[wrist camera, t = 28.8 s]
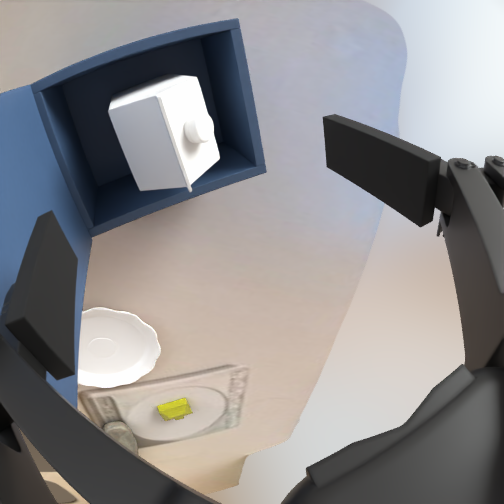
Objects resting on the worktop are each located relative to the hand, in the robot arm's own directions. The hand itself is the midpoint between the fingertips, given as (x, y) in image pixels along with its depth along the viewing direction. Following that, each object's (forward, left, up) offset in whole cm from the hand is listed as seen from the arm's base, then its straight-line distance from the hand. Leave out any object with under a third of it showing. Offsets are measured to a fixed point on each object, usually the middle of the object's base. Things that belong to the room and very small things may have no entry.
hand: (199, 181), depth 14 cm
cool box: (0, 0, -28) cm, 28 cm away
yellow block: (+62, -17, -28) cm, 70 cm away
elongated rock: (+73, -39, -28) cm, 88 cm away
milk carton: (0, 0, -27) cm, 27 cm away
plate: (+34, -21, -28) cm, 49 cm away
